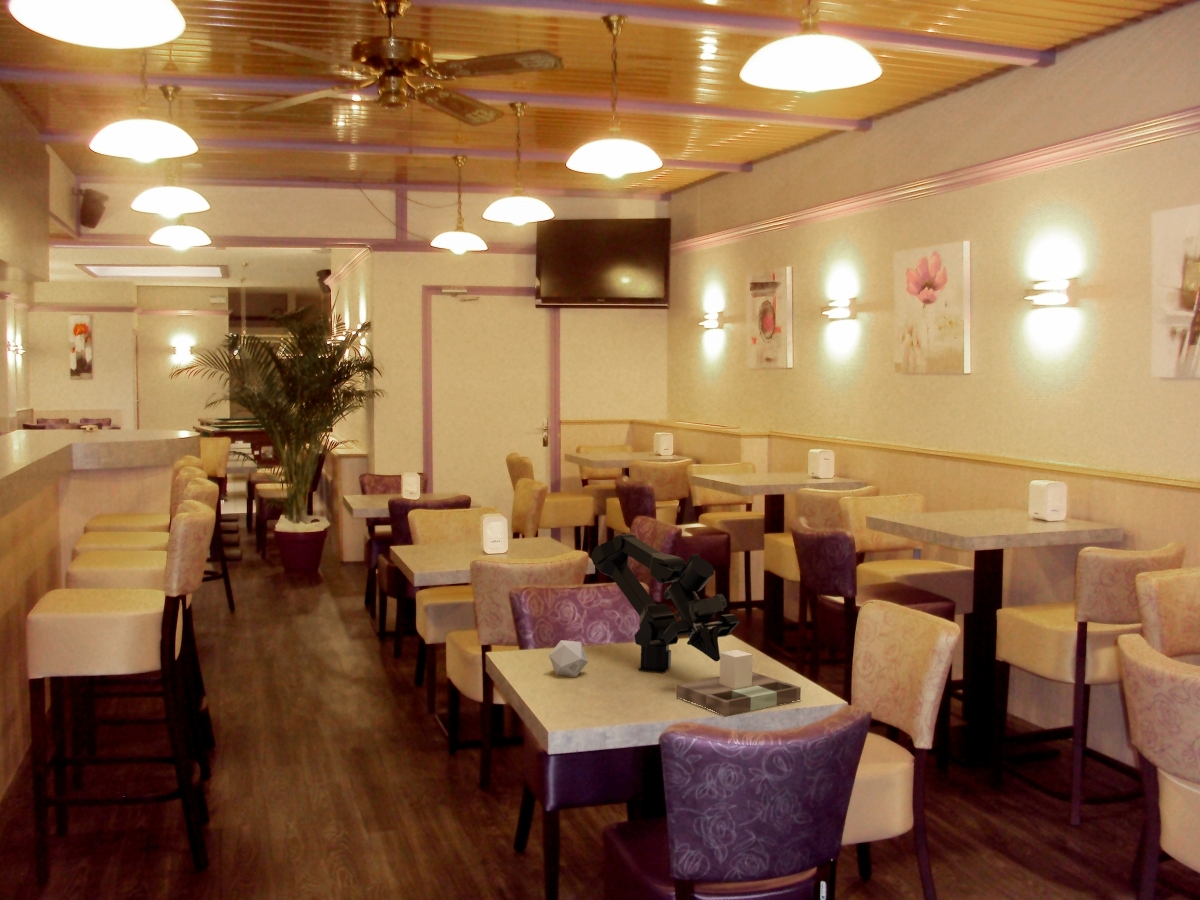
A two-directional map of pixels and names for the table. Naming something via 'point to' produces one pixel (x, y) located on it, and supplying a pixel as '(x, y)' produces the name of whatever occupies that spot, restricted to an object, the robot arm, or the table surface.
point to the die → (568, 658)
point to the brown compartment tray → (738, 694)
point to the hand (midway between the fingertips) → (717, 660)
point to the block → (735, 669)
